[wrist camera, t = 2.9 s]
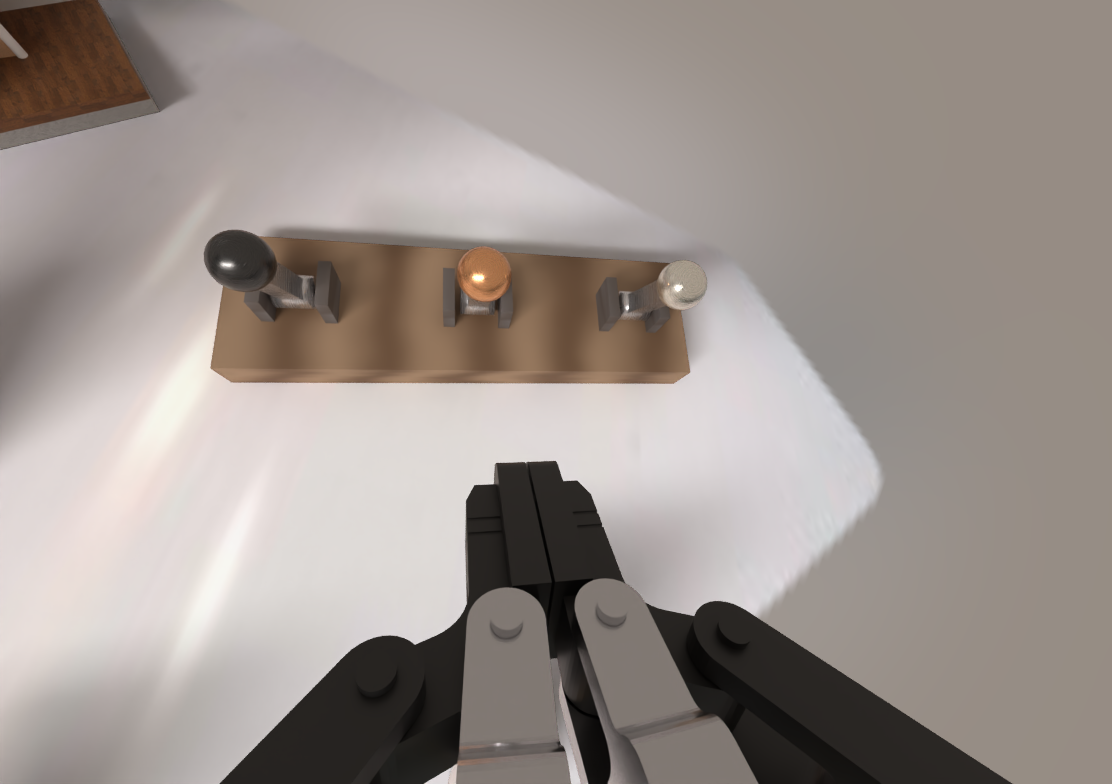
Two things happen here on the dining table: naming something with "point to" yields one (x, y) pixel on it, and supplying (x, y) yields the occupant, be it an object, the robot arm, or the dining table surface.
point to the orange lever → (482, 280)
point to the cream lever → (665, 291)
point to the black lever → (256, 270)
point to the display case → (63, 71)
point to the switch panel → (446, 322)
